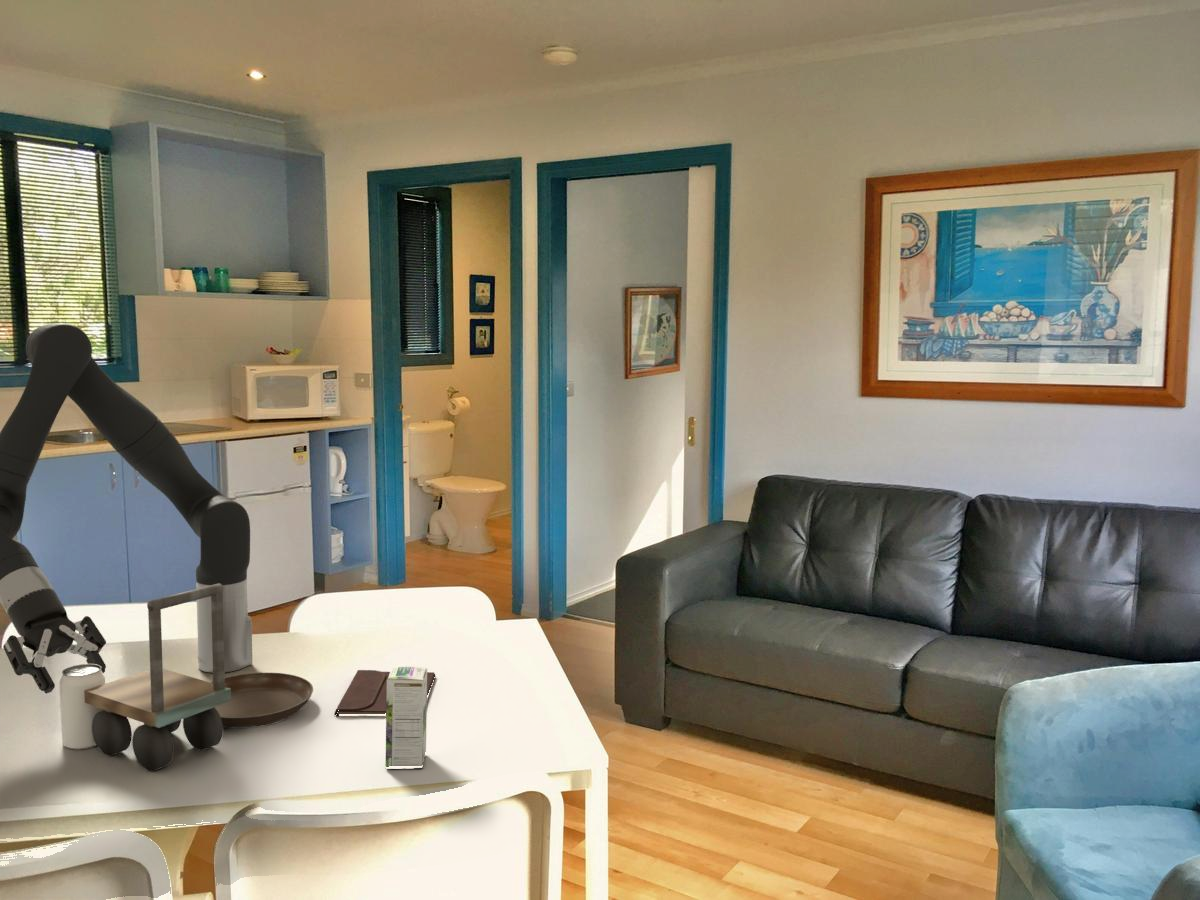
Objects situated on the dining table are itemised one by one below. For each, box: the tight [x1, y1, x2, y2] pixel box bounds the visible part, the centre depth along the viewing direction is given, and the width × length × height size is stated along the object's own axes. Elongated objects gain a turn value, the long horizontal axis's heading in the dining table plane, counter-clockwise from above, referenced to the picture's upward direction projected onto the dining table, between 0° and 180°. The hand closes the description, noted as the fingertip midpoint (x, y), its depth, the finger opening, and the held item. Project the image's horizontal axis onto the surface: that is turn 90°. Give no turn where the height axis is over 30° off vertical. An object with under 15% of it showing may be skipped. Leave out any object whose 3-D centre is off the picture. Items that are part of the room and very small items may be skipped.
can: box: [59, 663, 106, 750], centre depth 164 cm, size 6×6×12 cm
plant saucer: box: [210, 672, 314, 729], centre depth 180 cm, size 21×21×3 cm
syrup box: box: [385, 665, 428, 767], centre depth 159 cm, size 6×6×14 cm
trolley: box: [84, 583, 231, 772], centre depth 160 cm, size 18×13×27 cm
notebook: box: [334, 669, 436, 716], centre depth 188 cm, size 15×20×2 cm
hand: (76, 682), depth 164 cm, fingers open, 8 cm apart
